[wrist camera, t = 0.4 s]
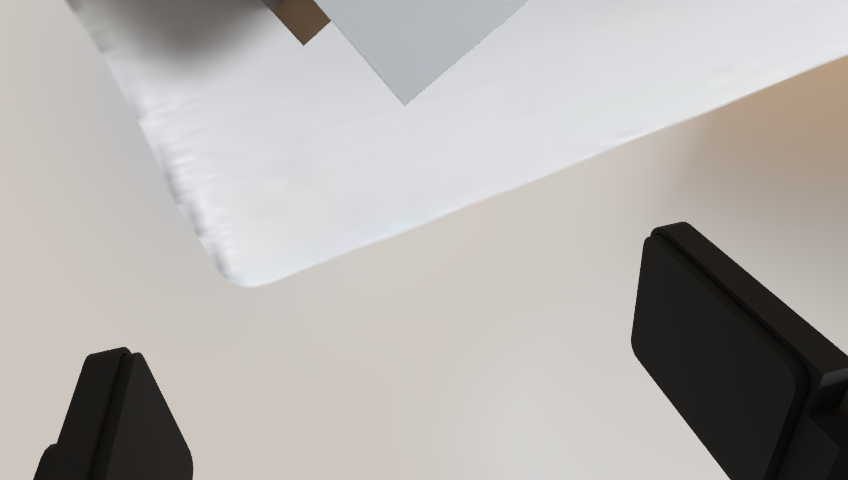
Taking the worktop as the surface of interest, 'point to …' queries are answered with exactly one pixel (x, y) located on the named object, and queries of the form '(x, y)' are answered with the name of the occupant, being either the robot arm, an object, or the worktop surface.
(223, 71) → the worktop surface
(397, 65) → the cover plate
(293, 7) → the slot box
